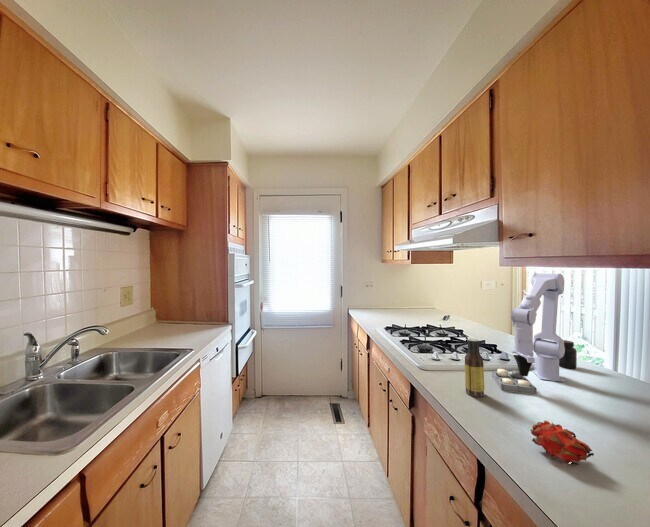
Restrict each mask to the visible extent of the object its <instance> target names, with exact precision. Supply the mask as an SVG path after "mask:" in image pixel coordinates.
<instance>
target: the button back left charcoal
mask: <svg viewBox="0 0 650 527" xmlns="http://www.w3.org/2000/svg"><path fill="white" fill-rule="evenodd" d="M511 374H512V377H514V378H518V379H522V378H523V376H521V375H520V373H519V370H516V369H513V370H511Z"/></svg>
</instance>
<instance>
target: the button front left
mask: <svg viewBox="0 0 650 527" xmlns="http://www.w3.org/2000/svg"><path fill="white" fill-rule="evenodd" d="M518 385H521V386H529V382H528V381H525V380H518Z"/></svg>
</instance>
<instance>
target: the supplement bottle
mask: <svg viewBox="0 0 650 527" xmlns="http://www.w3.org/2000/svg"><path fill="white" fill-rule="evenodd" d="M563 340H564V339H563ZM564 347H565V353H564V356H563V357H562V358H559V368H563V369H564V370H565V369H567V370H576V369H577V363H578V362H577V360H578V357H577V355H578V353H577V352H578V351H577V349H576V348H575V344H574V342H573V341H571V340H566V339H565V340H564Z"/></svg>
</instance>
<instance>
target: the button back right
mask: <svg viewBox="0 0 650 527" xmlns="http://www.w3.org/2000/svg"><path fill="white" fill-rule="evenodd" d="M496 372H497V375H499V376H501V377H508V373H509V370H507V369H504V368H497V370H496Z"/></svg>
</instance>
